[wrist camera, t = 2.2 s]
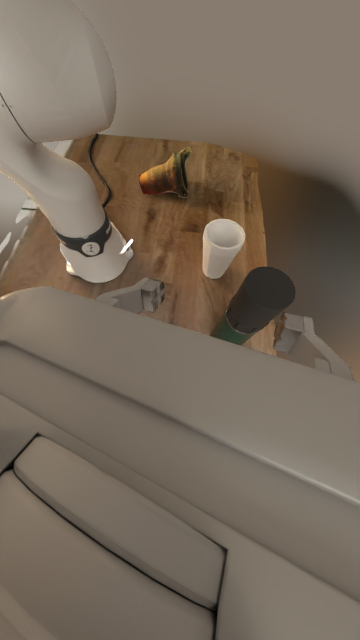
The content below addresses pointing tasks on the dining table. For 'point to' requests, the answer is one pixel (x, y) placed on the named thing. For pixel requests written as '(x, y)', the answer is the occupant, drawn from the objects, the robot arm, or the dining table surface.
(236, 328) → the lid
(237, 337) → the thermos
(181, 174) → the pot
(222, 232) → the foam cup
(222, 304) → the dining table surface
